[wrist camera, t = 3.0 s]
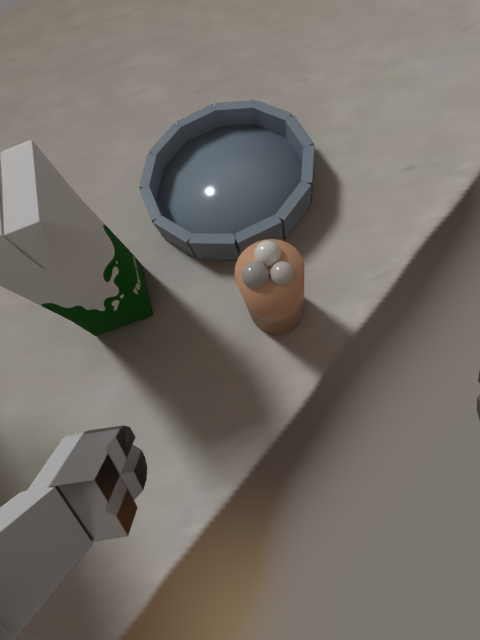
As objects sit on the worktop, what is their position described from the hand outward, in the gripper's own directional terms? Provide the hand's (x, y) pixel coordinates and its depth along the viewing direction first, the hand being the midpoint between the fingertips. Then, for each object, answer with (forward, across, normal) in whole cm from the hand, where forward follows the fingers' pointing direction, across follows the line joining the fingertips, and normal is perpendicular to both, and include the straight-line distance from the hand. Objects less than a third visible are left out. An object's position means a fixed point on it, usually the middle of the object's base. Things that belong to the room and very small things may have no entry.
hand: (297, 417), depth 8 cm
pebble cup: (+26, 0, +9) cm, 28 cm away
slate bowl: (+38, +3, -3) cm, 38 cm away
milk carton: (+30, +18, +5) cm, 35 cm away
